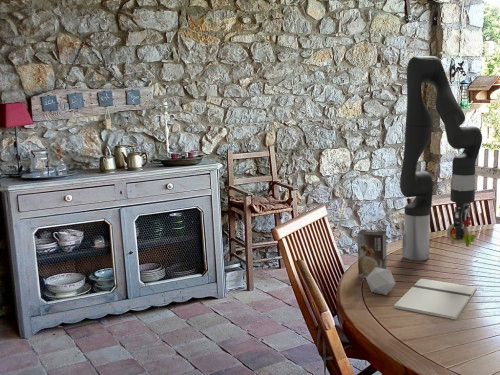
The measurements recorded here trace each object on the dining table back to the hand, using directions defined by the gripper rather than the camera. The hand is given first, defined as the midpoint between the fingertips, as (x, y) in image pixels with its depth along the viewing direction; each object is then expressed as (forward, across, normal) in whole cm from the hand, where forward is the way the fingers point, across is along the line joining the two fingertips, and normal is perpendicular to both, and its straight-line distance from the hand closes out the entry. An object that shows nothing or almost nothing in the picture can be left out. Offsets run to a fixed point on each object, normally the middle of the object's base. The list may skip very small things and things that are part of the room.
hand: (460, 237), depth 186 cm
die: (+15, +24, -19) cm, 34 cm away
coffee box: (+15, +11, -27) cm, 33 cm away
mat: (+14, +21, -2) cm, 26 cm away
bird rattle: (+3, 0, 0) cm, 3 cm away
